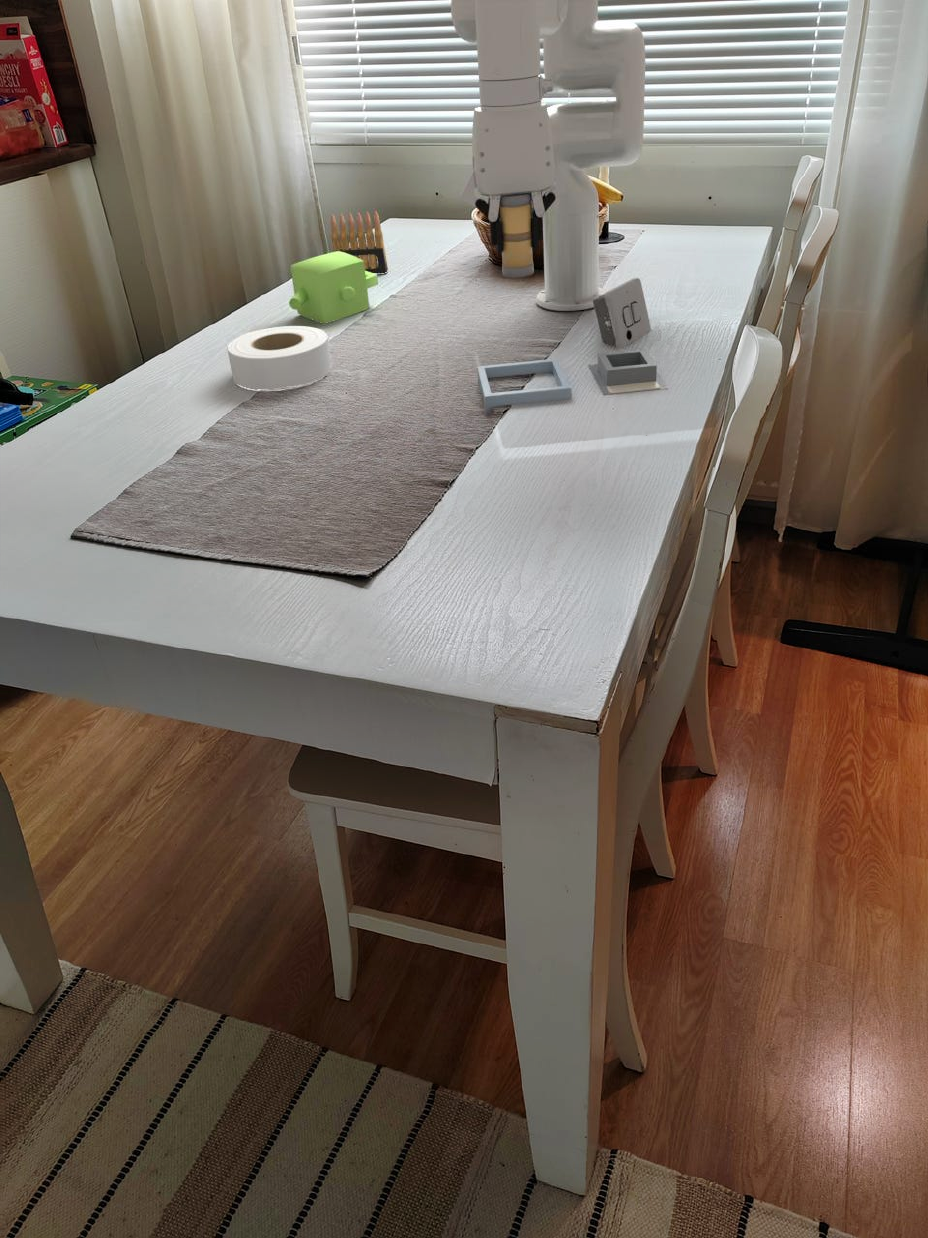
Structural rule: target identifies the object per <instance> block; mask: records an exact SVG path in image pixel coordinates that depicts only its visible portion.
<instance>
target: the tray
mask: <svg viewBox="0 0 928 1238" xmlns="http://www.w3.org/2000/svg"><path fill="white" fill-rule="evenodd" d="M560 362H561V361H560V360H559V358H558V357H557V358H547V359H538V360H537V359H536V360H530V361H528V360H527V361H520V362H509V363H508V362H506V363H498V364H488V365H478V366H476V369H477V371H476V372H477V379H478V380H477V381H478V386H479V391H480V394H481V395H480V396H481V399H482V403H483V407H484V411H485V414H486V413H487V414H495V410H494V407H500V406H501V407H503V406H510V405H521V404H522V405H523V404H532V403H539V402H540V403H541V402H542V403H543V402H550V401H559V400H569V399H570V400H571V399H572V386H571V384H570V383H569V380H568V377H567V375H566V374H565V371H564V369H563V367H562V365H561V363H560ZM550 372H552V374H553V376H554V379H555V382H556V383H557V385H558V386H550V387H549V386H548V387H538V388H530V389H521V390H511V391H510V390H509V391H499V392H492V391H491V386H490V383H489V380H488V379H491V378H500V377H510V376H520V375H521V376H522V375H530V374H539V373H550Z"/></svg>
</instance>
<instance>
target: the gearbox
mask: <svg viewBox="0 0 928 1238" xmlns="http://www.w3.org/2000/svg"><path fill="white" fill-rule="evenodd" d="M289 268H290V274H291V280H292V287H293V293H294V295H293V296H292V297H291V298H290V299H289V302H288V305H289V307H290V308H291V309H292V310H295V311H297V314H298V315H299V314H300V315H299V316H301V315H302V316H301V317H303V316H304V317H303V318H305V317H307V318H306V319H308V318H310V319H313V320H315V321H314V322H316V321H318V322H317V323H319V322H321V323H320V324H323V323H325V324H327V323H326V322H328V323H331V322H330V321H332V322H334V321H333V320H335V321H338V320H340V318H341V319H344V318H347V317H350V316H353V315H355V314H358V313H361V312H364V311H367V310H368V309H370V300H369V292H368V289H371V288H373V287H375V286H377V285H379V278H378V275H376V274H373V273H371V272H368V271H365V266H364V261H363V260H361V259H359V258H357V257H355V256H352V255H350V254H347V253H344V252H340V251H336V252H333V251H332V252H327V253H325V254H320V255H317V256H314V257H310V258H307V259H304V260H302V261H299V262H295V263H293V264H291V265H290V267H289ZM310 319H309V320H310ZM337 319H338V320H337ZM313 320H312V321H313Z"/></svg>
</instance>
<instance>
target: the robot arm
mask: <svg viewBox="0 0 928 1238" xmlns="http://www.w3.org/2000/svg"><path fill="white" fill-rule="evenodd" d="M450 1H451V2H450V11H451V12H450V14H451V20H452V24H453V27H454V29H455V32H456V33H457V35H458V36H459V37H460V38H461V40H464V41H465V42H468V43H471V44H476V50H477V53H476V54H477V69H478V70H477V71H478V84H479V85H478V86H479V87H478V88H479V103H480V105H479V106H480V107H475V108H474V111H473V118H472V119H473V120H472V131H471V132H472V135H471V137H472V140H471V143H472V145H471V146H472V147H471V151H472V153H471V154H472V155H471V157H472V159H471V160H472V170H471V172H470V174H469V176H468V178H467V180H466V181H465V184H464V186H463V188H462V190H461V191H460V194H459V195H460V198H461V200H462V201H464V202H465V203H467V204H469V205H471V206H472V207H474V208H476V209H477V210H478V211H479V212H480V213H481V214H482V215H484V216H485V217H486V218H487V219H488V220H489V221H488V222H489V237H490V245H491V246H495V250H496V252H497V254H502V252H503V235H502V221H501V220H500V214H499V211H500V206H499V203H500V196H503V195H514V194H524V193H531V228H532V250H536V251H537V250H539V247H540V246H539V242H542V241H543V265H544V266H543V269H544V271H543V272H544V289H543V290H541V291H540V292H538V293H537V295H536V304H537V305H538V306H539V307H541V308H543V309H546V310H550V311H557V312H558V311H559V312H576V311H582V310H589V309H594V304H593V300H594V299H596V298H598V297H600V296H602V295H604V294H605V293H606V292H608V291H607V290H606V289H604V288H603V287H600V285H599V284H600V283H599V282H600V281H599V280H600V279H599V276H600V275H599V274H600V273H599V272H600V271H599V269H600V268H599V262H600V261H599V260H600V259H599V257H600V254H599V253H600V252H599V250H600V249H599V247H600V244H599V238H600V235H599V234H600V231H599V230H600V229H599V228H600V226H599V224H600V222H599V221H600V217H599V216H600V215H599V213H600V212H599V211H600V206H599V205H600V201H599V200H600V198H599V193H598V189H597V187H596V185H595V183H594V182H593V181H592V179H591V178H590V177H589V175H588V174H587V172H586V171H585V170H584V169H589V168H605V167H607V168H608V167H625V166H630V165H632V164H634V163H635V162H637V161H638V159H639V158H640V156H641V154H642V150H643V149H642V148H643V141H644V127H645V126H644V121H645V120H644V119H645V91H646V90H645V89H646V83H645V82H646V46H645V39H644V35H643V31H642V30H641V28H640V27H639V26H638V25H637V24H635V23H634V22H630V21H624V20H623V21H608V22H606V21H605V22H600V21H599V14H598V13H599V0H450ZM540 40H542V44H543V45H542V46H543V47H542V48H543V49H542V50H543V52H542V53H543V57H542V58H543V59H542V60H543V72H544V77H543V76H542V74H541V73H542V72H541V41H540ZM552 92H555V93H559V94H587V93H604V92H605V93H606V92H607V93H608V92H609V93H612V94H613V95H614V96H615V100H613V101H592V102H591V101H583V102H582V101H581V102H566V103H565V102H564V103H559V104H554V105H552V106H548V105H547V102H544V101H542V100H543V96H544V95H545V94H547V93H552ZM475 189H476V191H477V193H479V194H480V195H481V196H484V197H487V201H486V200H484V198H483V197H480V196H479V195H477V194H476V193H474V192H475Z"/></svg>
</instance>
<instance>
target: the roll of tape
mask: <svg viewBox="0 0 928 1238" xmlns="http://www.w3.org/2000/svg"><path fill="white" fill-rule="evenodd" d="M227 345H228V346H227V349H226V350H227V355H228V359H229V364H230V370H231V373H232V380H233V382H235V383H236V384H238V385H241V386H243V387H246V388H250V389H255V390H257V389H266V388H279V387H287V386H294V385H299V384H306V383H309V382H312V381H315V380H318V379H320V378H322V377H323V376H325V375H326V374H327V373H328V372H329V371H330V370H331V368H332V369H333V364H332V357H331V351H330V349H331V348H330V343H329V336H328V334H327V332H325V331H324V330H323V329H320V328H317V327H312V326H305V325H283V326H275V327H268V328H264V329H263V328H262V329H259V330H258V329H257V330H255V331H249V332H246V333H244V334H242V335H240V336H237V337H236V338H234V339H233V340H232V341H230V342H229V343H228V344H227ZM235 383H234V384H235ZM236 384H235V385H236Z"/></svg>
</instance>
